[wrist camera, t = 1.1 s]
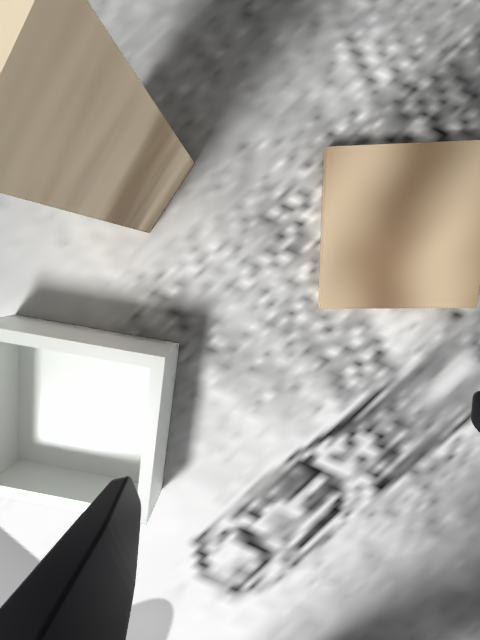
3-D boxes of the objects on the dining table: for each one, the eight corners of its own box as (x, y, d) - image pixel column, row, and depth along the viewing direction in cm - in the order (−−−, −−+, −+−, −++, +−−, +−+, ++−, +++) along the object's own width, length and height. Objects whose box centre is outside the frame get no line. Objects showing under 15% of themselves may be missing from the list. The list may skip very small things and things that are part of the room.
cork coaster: (488, 145, 16) (500, 139, 15) (467, 305, 18) (476, 307, 17) (323, 152, 17) (327, 146, 16) (318, 306, 18) (320, 308, 18)
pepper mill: (194, 163, 17) (2, -128, 4) (149, 232, 18) (-117, 161, 5) (125, 109, 17) (-298, -376, 4) (83, 182, 18) (-367, -21, 5)
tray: (179, 343, 20) (165, 357, 17) (161, 489, 22) (146, 524, 19) (14, 314, 20) (-28, 323, 17) (14, 461, 22) (-23, 491, 19)
